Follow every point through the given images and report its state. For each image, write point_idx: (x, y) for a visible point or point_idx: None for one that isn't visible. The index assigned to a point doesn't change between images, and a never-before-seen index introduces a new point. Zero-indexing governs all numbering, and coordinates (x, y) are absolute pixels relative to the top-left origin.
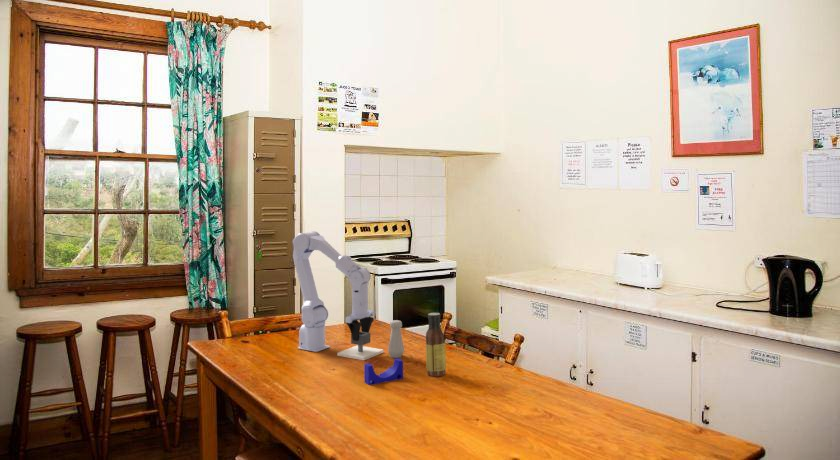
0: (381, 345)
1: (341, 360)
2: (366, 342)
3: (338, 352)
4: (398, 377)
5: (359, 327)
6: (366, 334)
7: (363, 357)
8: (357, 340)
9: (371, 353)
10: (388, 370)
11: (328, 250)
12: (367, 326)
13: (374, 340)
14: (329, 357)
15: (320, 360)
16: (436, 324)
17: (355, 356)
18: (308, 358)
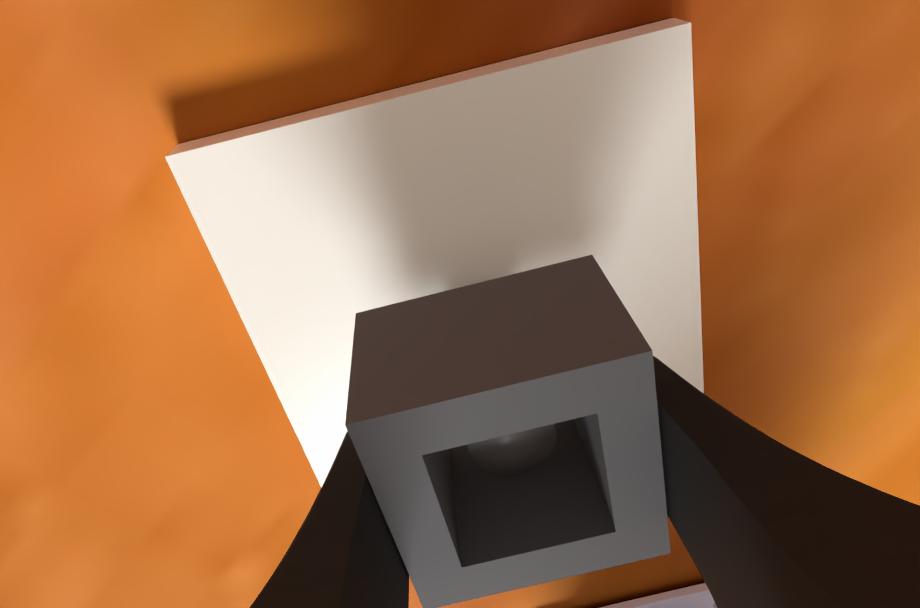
0: (22, 412)
1: (815, 240)
2: (471, 297)
3: None
4: None
5: (808, 521)
6: (492, 386)
7: (679, 41)
8: (657, 358)
9: (447, 124)
10: None
11: None
12: (356, 603)
13: (2, 590)
14: (785, 404)
15: (915, 380)
16: None
17: (695, 177)
18: (905, 487)
